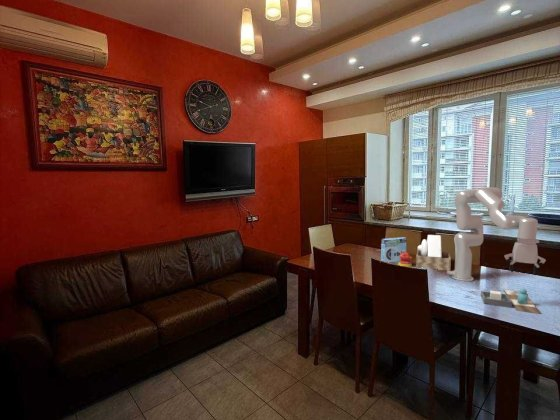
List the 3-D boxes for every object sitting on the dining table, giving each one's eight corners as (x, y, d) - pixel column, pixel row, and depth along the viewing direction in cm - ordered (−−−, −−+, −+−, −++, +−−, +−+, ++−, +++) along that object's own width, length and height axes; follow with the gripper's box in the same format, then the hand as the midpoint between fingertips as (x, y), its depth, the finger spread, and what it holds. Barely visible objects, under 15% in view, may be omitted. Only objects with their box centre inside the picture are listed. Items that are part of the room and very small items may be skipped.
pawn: (517, 303, 161) (518, 288, 160) (517, 300, 164) (518, 286, 163) (527, 305, 158) (528, 290, 158) (527, 302, 162) (528, 288, 161)
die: (490, 301, 164) (491, 293, 164) (489, 298, 168) (490, 290, 168) (501, 302, 162) (502, 294, 161) (500, 299, 166) (500, 291, 165)
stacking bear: (411, 281, 199) (412, 255, 197) (395, 279, 204) (396, 253, 202) (414, 276, 208) (414, 251, 206) (398, 274, 213) (399, 250, 212)
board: (516, 310, 153) (516, 309, 153) (503, 289, 181) (503, 289, 181) (541, 314, 148) (541, 313, 148) (524, 292, 177) (524, 292, 177)
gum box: (402, 265, 236) (402, 236, 234) (406, 267, 231) (407, 238, 229) (380, 267, 231) (380, 238, 229) (384, 269, 226) (385, 239, 224)
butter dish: (441, 257, 223) (417, 255, 229) (438, 264, 238) (416, 262, 244) (440, 235, 230) (418, 234, 236) (438, 243, 245) (417, 242, 251)
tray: (483, 303, 162) (484, 298, 161) (480, 296, 172) (480, 291, 172) (511, 307, 156) (511, 302, 156) (506, 299, 167) (506, 294, 167)
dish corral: (415, 267, 231) (416, 255, 230) (417, 260, 251) (417, 249, 250) (450, 270, 220) (450, 258, 219) (448, 263, 241) (449, 252, 240)
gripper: (545, 241, 158) (541, 272, 160) (504, 238, 165) (501, 268, 168) (549, 244, 151) (546, 277, 153) (507, 241, 159) (504, 272, 161)
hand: (522, 272), depth 160 cm, fingers open, 9 cm apart
